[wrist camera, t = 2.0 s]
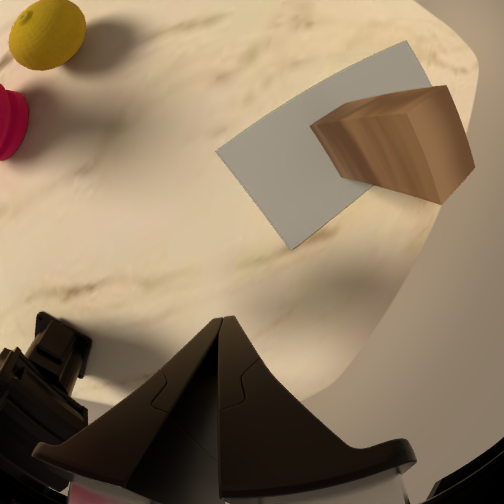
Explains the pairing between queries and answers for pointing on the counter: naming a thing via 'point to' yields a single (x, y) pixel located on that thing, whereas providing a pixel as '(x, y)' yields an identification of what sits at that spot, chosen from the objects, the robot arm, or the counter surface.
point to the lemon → (47, 34)
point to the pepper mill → (11, 121)
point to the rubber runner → (312, 145)
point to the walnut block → (400, 142)
